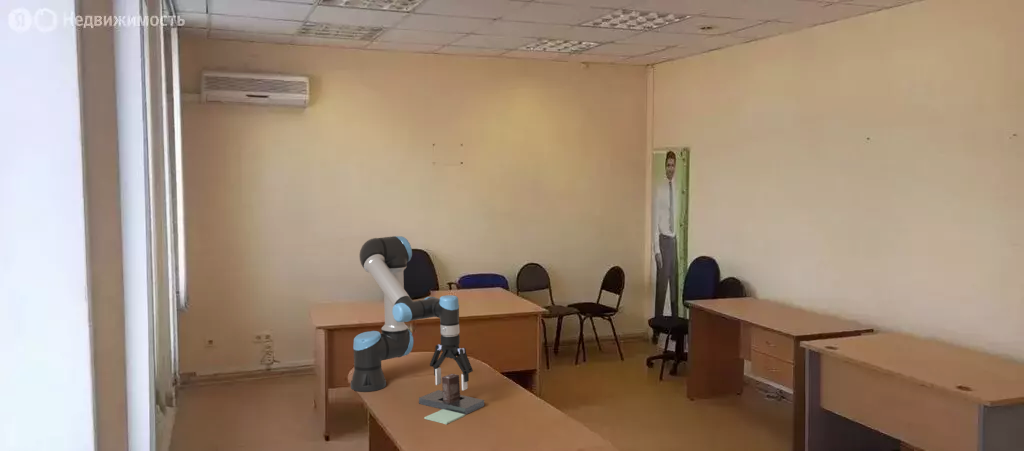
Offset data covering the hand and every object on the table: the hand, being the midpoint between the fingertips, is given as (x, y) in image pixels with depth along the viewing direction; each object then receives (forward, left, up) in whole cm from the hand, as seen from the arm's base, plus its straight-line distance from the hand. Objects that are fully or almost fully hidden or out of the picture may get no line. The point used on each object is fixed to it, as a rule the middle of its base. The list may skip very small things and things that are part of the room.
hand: (451, 386), depth 300 cm
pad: (+7, -12, -8) cm, 16 cm away
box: (0, 0, -8) cm, 8 cm away
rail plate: (0, 0, -8) cm, 8 cm away
